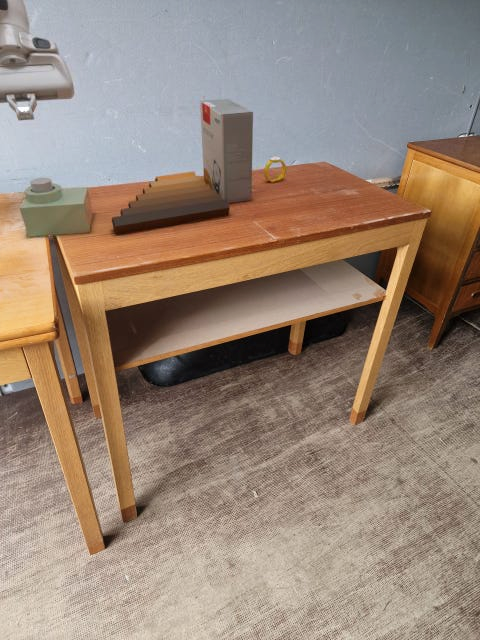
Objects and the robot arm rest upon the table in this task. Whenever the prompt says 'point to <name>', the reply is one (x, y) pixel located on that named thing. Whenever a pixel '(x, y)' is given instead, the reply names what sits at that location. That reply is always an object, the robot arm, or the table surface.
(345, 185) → the table surface
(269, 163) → the yellow toy ring
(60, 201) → the dispenser
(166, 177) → the pan flute
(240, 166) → the hard drive box
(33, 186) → the grey push button
